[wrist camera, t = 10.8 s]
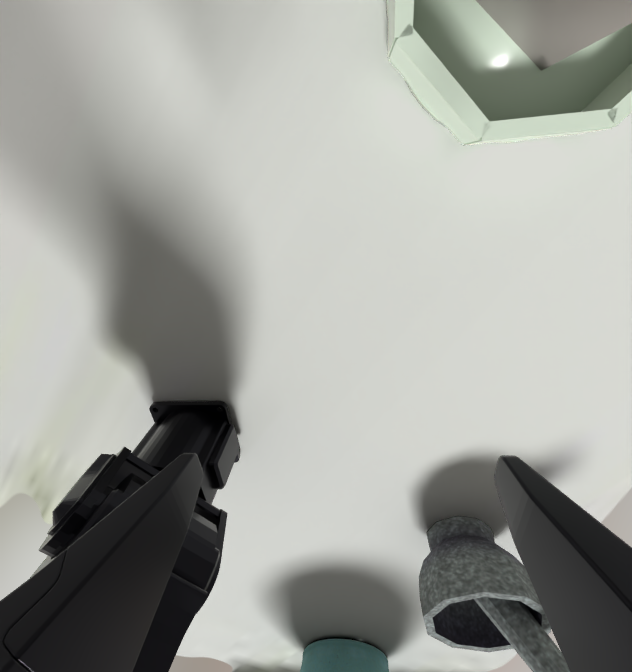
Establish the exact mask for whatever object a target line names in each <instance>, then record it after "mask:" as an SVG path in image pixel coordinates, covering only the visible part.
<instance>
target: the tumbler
mask: <svg viewBox="0 0 632 672" xmlns="http://www.w3.org/2000/svg"><path fill="white" fill-rule="evenodd" d="M476 1H477V2H478V3H479V5H480V6H481V7H482V8H483V9H484V10H485V11H486V12H487V13H488V14H489V15H490V16H491V17H492V19H493V20H494V21H495V22H496V23H497V24H498V25H499V26H500V27H501V28H502V29H503V30H504V31H505V32H506V34H507V35H508V36H509V37H510V38H511V39H512V40H513V41H514V42H515V43H516V44H517V45H518V46H519V47H520V49H521V50H522V51H523V52H524V53H525V54H526V55H527V56H528V57H529V58H530V59H531V60H532V61H533V63H534V64H535V65H536V66H537V67H538V68H539V69H540V70H541V71H542V70H544V69H546V68H548V67H549V66H551V65H553V64H555V63H557V62H559V61H561V60H563V59H565V58H566V57H568V56H570V55H572V54H574V53H576V52H578V51H580V50H582V49H584V48H585V47H587V46H589V45H591V44H593V43H595V42H597V41H599V40H601V39H602V38H604V37H606V36H608V35H610V34H612V33H614V32H616V31H618V30H619V29H621V28H623V27H625V26H627V25H629V24H631V23H632V0H476Z"/></svg>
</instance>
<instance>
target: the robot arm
mask: <svg viewBox="0 0 632 672" xmlns="http://www.w3.org/2000/svg"><path fill="white" fill-rule="evenodd" d="M219 407H221V408H222V409H221V408H219ZM150 412H151V414H152V417H153V419H154V422H155V423H154V425H153V426H152V427H151V429H150V430H149V431H148V433H147V434H146V435H145V437H144V438H143V439H142V440H141V442H140V443H139V444H138V446H137V447H136V448H135V450H134V451H133V452H132V453H131V450H129V449H127V448H126V447H124V448H123V449H122V450H121V451H120V452H119V453H118V454H117V455H115V454H112V455H109V454H101V455H100V456H99V457H98V458H97V459H96V460H95V462H94V463H93V464H92V465H91V466H90V467H89V468H88V470H87V471H86V472H85V473H84V474H83V475H82V476H81V478H80V479H79V480H78V481H77V482H76V483H75V485H74V486H73V487H72V488H71V490H70V491H69V492H68V493H67V495H66V496H65V497H64V498H63V500H62V501H61V502H60V503H59V504H58V506H57V507H56V508H55V509H54V511H53V526H52V527H51V529H50V530H49V532H48V537H47V538H46V540H45V541H44V543H43V544H42V545H41V547H40V549H39V551H40V552H43V553H45V554H46V555H48V556H47V558H46V559H45V560H44V561H43V563H42V564H41V565H40V566H39V567H38V569H37V570H36V571H35V572H34V574H33V575H32V576H31V577H30V579H29V580H27V581H26V582H25V583H23V584H22V585H21V586H20V587H18V588H17V589H16V590H14V591H13V592H12V593H10V594H9V595H8V596H6V597H5V598H4V599H2V600H1V601H0V672H168V671H169V669H170V667H171V664H172V662H173V660H174V657H175V655H176V653H177V650H178V648H179V646H180V644H181V641H182V639H183V637H184V635H185V633H186V631H187V629H188V627H189V625H190V623H191V622H192V620H193V618H194V616H195V615H196V614H197V612H198V611H199V610H200V608H201V607H202V606H203V604H204V603H205V601H206V599H207V598H208V596H209V594H210V592H211V590H212V588H213V586H214V583H215V581H216V578H217V575H218V572H219V568H220V563H221V556H222V549H223V541H224V534H225V527H226V519H227V513H226V512H225V511H223V510H222V509H220V510H219V509H218V508H216V507H214V506H213V505H211V504H212V502H213V499H214V497H215V494H216V492H217V490H218V489H223V488H224V486H225V485H226V482H227V479H228V477H229V474H230V472H231V469H232V466H233V464H234V462H238V460H239V458H240V453H239V448H240V446H239V442H238V438H237V434H236V431H235V427H234V425H233V424H232V422H231V419H230V415H229V411H228V407H227V405H226V404H225V403H224V402H221V401H210V402H154V403H153V404H152V405H151V406H150ZM494 481H495V485H496V488H497V491H498V494H499V498H500V501H501V504H502V507H503V510H504V513H505V516H506V519H507V523H508V526H509V529H510V532H511V535H512V538H513V541H514V543H515V546H516V548H517V550H518V553H519V555H520V557H521V560H522V562H523V564H524V567H525V569H526V571H527V574H528V576H529V578H530V580H531V583H532V585H533V587H534V590H535V592H536V594H537V597H538V599H539V601H540V604H541V606H542V608H543V610H544V613H545V615H546V617H547V620H548V622H549V624H550V627H551V629H552V631H553V634H554V636H555V638H556V640H557V643H558V645H559V647H560V649H561V652H562V654H563V657H564V659H565V661H566V664H567V666H568V668H569V670H570V672H632V548H631V547H630V546H629V545H628V544H626V543H625V542H624V541H623V540H621V539H620V538H619V537H617V536H616V535H615V534H614V533H612V532H611V531H610V530H609V529H608V528H606V527H605V526H604V525H603V524H601V523H600V522H599V521H597V520H596V519H595V518H594V517H592V516H591V515H590V514H589V513H587V512H586V511H585V510H584V509H582V508H581V507H580V506H579V505H577V504H576V503H575V502H574V501H572V500H571V499H570V498H569V497H567V496H566V495H565V494H564V493H562V492H561V491H560V490H559V489H557V488H556V487H555V486H554V485H552V484H551V483H550V482H548V481H547V480H546V479H545V478H543V477H542V476H541V475H540V474H538V473H537V472H536V471H535V470H533V469H532V468H531V467H530V466H528V465H527V464H526V463H525V462H523V461H522V460H521V459H520V458H518V457H516V456H500V457H499V459H498V463H497V467H496V470H495V475H494Z"/></svg>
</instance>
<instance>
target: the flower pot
mask: <svg viewBox="0 0 632 672" xmlns="http://www.w3.org/2000/svg"><path fill="white" fill-rule="evenodd" d="M300 672H389V669H388V660H387V658H386V656H385V655H384V653H382V652H381V651H380V650H379V649H377V648H375V647H373V646H371V645H369V644H366V643H363V642H359V641H355V640H349V639H325V640H320V641H317V642H314V643H312V644H310V645H308V646H307V647H306V648H305V650H304V652H303V660H302V666H301V670H300Z"/></svg>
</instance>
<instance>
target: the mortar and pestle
mask: <svg viewBox="0 0 632 672" xmlns="http://www.w3.org/2000/svg"><path fill="white" fill-rule="evenodd" d="M427 538H428V543H429V547H430V550H431V552H430V554H429V555H428V556H427V557H426V558H425V560H424V561H423V565H422V568H421V572H420V575H419V589H420V601H421V607H422V612H423V618H424V622H425V626H426V629H427V633H428V635H430V636H432V637H433V638H435V639H437V640H439V641H441V642H443V643H445V644H447V645H449V646H451V647H453V648H461V649H469V650H476V651H484V652H492V651H499V650H506V649H513V648H514V649H515V650H516V652H517V653H518V654H519V655H520V657H521V658H522V659H523V660H524V661H525V662H526V664H527V665H528V666H529V667H530V669H531V670H532V671H533V672H570V670H569V668H568V666H567V664H566V661H565V659H564V657H563V654H562V652H561V651H560V650H559V648H558V647H557V646H556V645H555V643H554V642H553V641H552V639H551V638H550V637H549V636H548V633H550V632H551V627H550V624H549V622H548V620H547V617H546V615H545V613H544V610H543V608H542V606H541V604H540V601H539V599H538V597H537V594H536V592H535V590H534V587H533V585H532V583H531V580H530V578H529V576H528V574H527V571H526V569H525V567H524V565H523V564H521V563H520V562H519V561H518V560H517V559H516V558H515V557H514V556H513V555H512V554H510V553H509V552H507V551H506V550H504V549H503V548H501V547H500V546H498V545H497V544H495V542H494V536H493V533H492V530H491V528H490V527H489V526H487V525H486V524H485V523H483V522H482V521H480V520H479V519H477V518H468V517H458V516H455V517H452V518H448V519H445V520H441V521H438V522H436V523H435V524H434V525H433V526H432V527H431V528H430V529H429V531H428V532H427Z"/></svg>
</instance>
